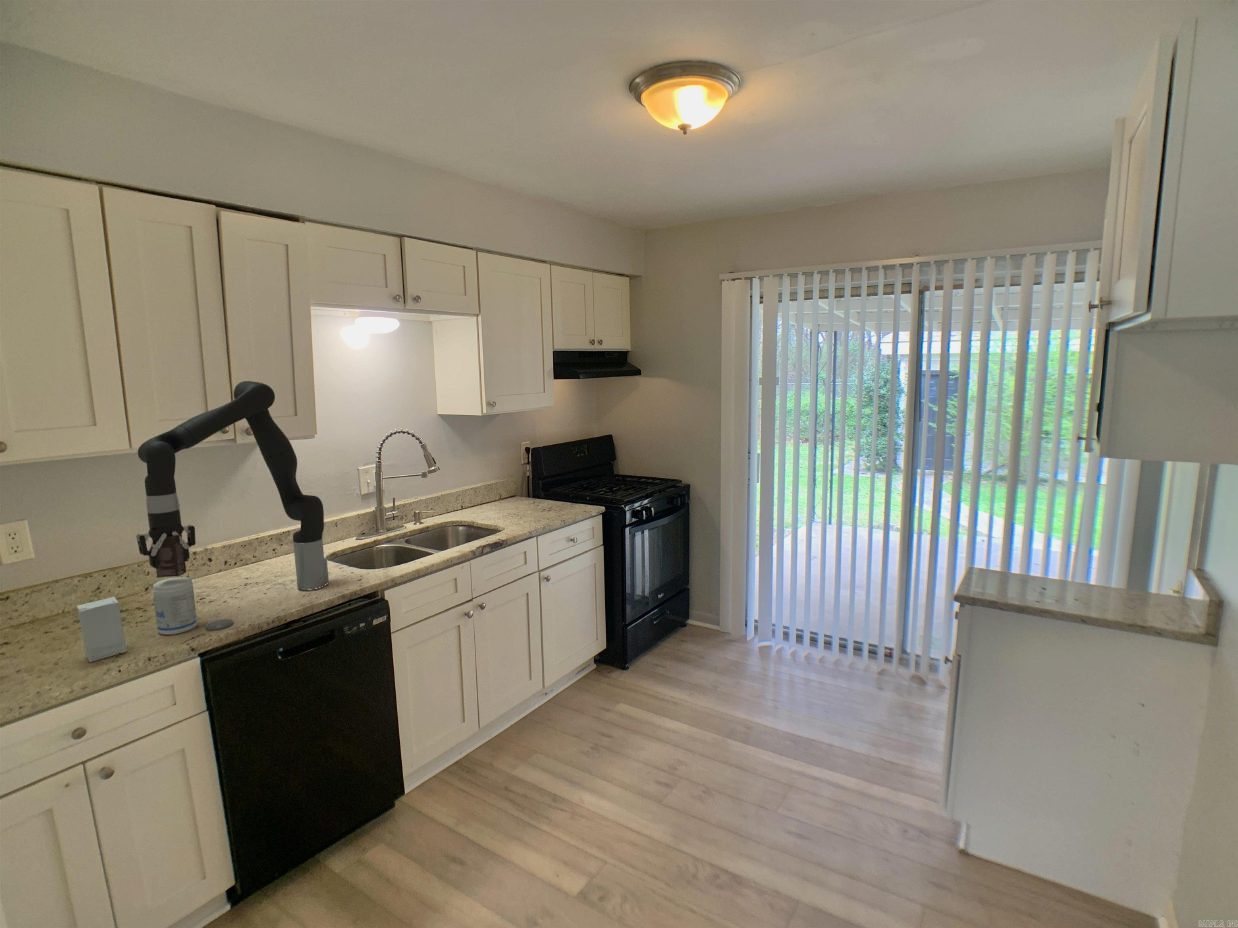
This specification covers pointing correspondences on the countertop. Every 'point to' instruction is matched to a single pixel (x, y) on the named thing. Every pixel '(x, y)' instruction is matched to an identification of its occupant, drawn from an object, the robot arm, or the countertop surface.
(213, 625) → the slate coaster
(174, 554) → the box
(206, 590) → the countertop surface
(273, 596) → the countertop surface
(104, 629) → the skincare box
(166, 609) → the supplement tub
